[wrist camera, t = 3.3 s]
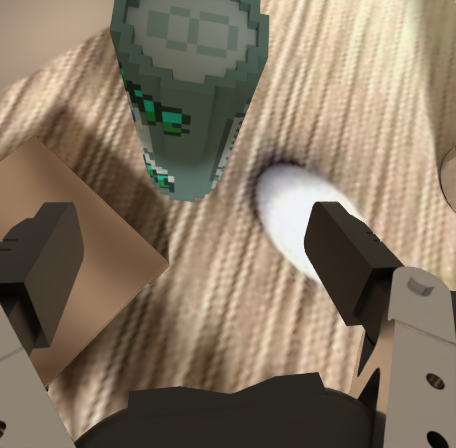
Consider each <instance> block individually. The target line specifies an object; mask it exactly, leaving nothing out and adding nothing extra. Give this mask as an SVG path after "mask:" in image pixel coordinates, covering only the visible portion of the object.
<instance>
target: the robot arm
mask: <svg viewBox="0 0 456 448" xmlns="http://www.w3.org/2000/svg"><path fill="white" fill-rule="evenodd" d="M441 184H442V188H443V192H444V194H445V196H446V199H447V201H448V202H449V204H450V205H451V207H452V209H453V210H454V211H455V212H456V147H454V148H453V149H452V150H450V151H449V153H448V154H447V155H446V157H445V159H444V161H443V163H442V168H441ZM2 240H3V241H2V242H0V448H456V291H450V290H449V288H448V287H447V286H446V284H445V283H444V282H443V281H441V280H440V279H439V278H437V277H436V276H434V275H433V274H431V273H429V272H427V271H424V270H422V269H419V268H415V267H405V266H404V265H403V264H402V263H401V262H400V261H399V260H398V258H397V257H396V256H395V255H394V254H393V253H392V252H391V251H390V250H389V249H388V248H387V247H386V246H385V245H384V243H383V242H380V239H379V238H378V237H377V236H376V235H375V234H373V232H372V231H371V230H370V228H369V227H368V226H367V225H366V224H365V223H364V222H362V221H360V220H359V219H357V218H356V217H354V216H352V215H350V214H349V213H348V212H347V211H346V210H345V208H344V207H343V206H342V205H341V204H340V203H339V202H315V203H314V205H313V207H312V211H311V214H310V218H309V222H308V226H307V229H306V233H305V237H304V249H305V253H306V255H307V257H308V258H309V260H310V262H311V264H312V266H313V267H314V269H315V271H316V273H317V274H318V276H319V278H320V280H321V282H322V283H323V285H324V287H325V289H326V290H327V292H328V294H329V296H330V298H331V299H332V301H333V303H334V305H335V306H336V308H337V310H338V312H339V314H340V315H341V317H342V319H343V321H344V322H345V324H346V326H354V325H362V326H363V327H364V329H365V330H364V332H363V334H362V336H361V340H360V345H359V350H358V355H357V360H356V365H355V369H354V374H353V379H352V384H351V388H350V391H349V394H345V393H343V392H340V391H337V390H334V389H330V388H326V387H324V385H323V382H322V380H321V378H320V375H319V373H318V372H315V373H305V374H295V375H285V376H276V377H273V378H271V379H268V380H266V381H263V382H261V383H258V384H256V385H253V386H251V387H248V388H246V389H243V390H241V391H238V392H236V393H232V394H225V393H219V392H212V391H206V390H200V389H193V388H187V387H181V386H178V387H168V388H158V389H149V390H139V391H130V392H129V401H128V408H126V409H123V410H121V411H118V412H116V413H114V414H112V415H110V416H108V417H107V418H105V419H103V420H102V421H100V422H99V423H97V424H96V425H94V426H93V427H92V428H90V429H89V430H88V431H87V432H85V433H84V434H83V435H82V436H81V437H80V438H79V439H78V440H76V441H75V442H74V443H73V441H72V439H71V437H70V435H69V433H68V432H67V430H66V428H65V426H64V424H63V422H62V420H61V418H60V416H59V414H58V412H57V410H56V408H55V407H54V405H53V403H52V401H51V399H50V397H49V395H48V393H47V391H46V389H45V387H44V385H43V384H42V382H41V380H40V378H39V376H38V374H37V372H36V370H35V368H34V366H33V364H32V362H31V361H30V359H29V357H30V355H31V352H32V350H33V349H39V348H50V346H51V344H52V341H53V338H54V336H55V333H56V330H57V328H58V325H59V322H60V320H61V317H62V314H63V312H64V309H65V306H66V304H67V301H68V298H69V296H70V293H71V290H72V288H73V285H74V283H75V280H76V277H77V275H78V272H79V269H80V267H81V264H82V261H83V257H84V242H83V238H82V233H81V229H80V224H79V220H78V215H77V211H76V207H75V205H74V203H73V202H45V203H44V204H43V205H42V206H41V208H40V209H39V211H38V212H37V213H36V215H35V216H34V218H26V219H24V220H23V221H21V222H20V223H18V224H17V225H15V226H13V227H12V228H11V229H10V230H9V232H8V233H7V234H6V235H5V237H4V238H3V239H2Z"/></svg>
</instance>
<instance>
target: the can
mask: <svg viewBox="0 0 456 448" xmlns="http://www.w3.org/2000/svg"><path fill="white" fill-rule="evenodd" d="M110 33H111V37H112V41H113V44H114V48H115V52H116V56H117V59H118V63H119V67H120V71H121V74H122V78H123V82H124V86H125V89H126V93H127V97H128V101H129V104H130V108H131V112H132V116H133V119H134V123H135V127H136V131H137V134H138V138H139V142H140V146H141V149H142V153H143V157H144V160H145V164H146V168H147V172H148V174H150V178H151V182H152V184H155V185H156V189H160V192H161V194H167V195H170V200H181V201H191V202H194V200H195V197H197V198H204V196H205V194H209V192H210V190H214V189H215V186H216V183H217V182H219V181H220V178H221V176H222V173H223V171H224V168H225V166H226V163H227V160H228V158H229V155H230V153H231V150H232V148H233V145H234V143H235V140H236V138H237V135H238V132H239V130H240V127H241V125H242V122H243V120H244V117H245V115H246V112H247V110H248V107H249V105H250V102H251V99H252V97H253V94H254V92H255V89H256V87H257V84H258V82H259V79H260V77H261V74H262V71H263V69H264V66H265V64H266V61H267V59H268V40H269V15H264V14H260V0H115V1H114V8H113V14H112V20H111V26H110Z"/></svg>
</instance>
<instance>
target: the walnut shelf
mask: <svg viewBox="0 0 456 448" xmlns="http://www.w3.org/2000/svg"><path fill="white" fill-rule="evenodd" d="M45 202H73V203H74V205H75V207H76V211H77V215H78V220H79V224H80V229H81V233H82V238H83V242H84V257H83V261H82V264H81V267H80V269H79V272H78V275H77V277H76V280H75V283H74V285H73V288H72V290H71V293H70V296H69V298H68V301H67V304H66V306H65V309H64V312H63V314H62V317H61V320H60V322H59V325H58V328H57V330H56V333H55V336H54V338H53V341H52V344H51V346H50V348H39V349H33V350H32V352H31V355H30V357H29V359H30V361H31V362H32V364H33V366H34V368H35V370H36V372H37V374H38V376H39V378H40V380H41V382H42V384H43V385H44V387H45V389H46V387H47V386H48V385H49V384H50V383H51V382H52V381H53V380H54V379H55V378H56V377H57V376H58V375H59V374H60V373H61V372H62V371H63V370H64V369H65V368H66V367H67V366H68V365H69V364H70V363H71V362H72V360H73V359H74V358H75V357H76V356H77V355H78V354H79V353H80V352H81V351H82V350H83V349H84V348H85V347H86V346H87V345H88V344H89V343H90V342H91V341H92V340H93V339H94V338H95V337H96V336H97V335H98V334H99V333H100V332H101V331H102V330H103V329H104V328H105V327H106V326H107V325H108V324H109V323H110V322H111V320H112V319H113V318H114V317H115V316H116V315H117V314H118V313H119V312H120V311H121V310H122V309H123V308H124V307H125V306H126V305H127V304H128V303H129V302H130V301H131V300H132V299H133V298H134V297H135V296H136V295H137V294H138V293H139V292H140V291H141V290H142V289H143V288H144V287H145V286H146V285H147V284H152V283H153V282H154V281H155V280H156V279H157V278H158V277H159V276H160V275H161V274H162V273H163V272H164V271H165V270H166V269H167V268H168V267H169V264H168V261H167V260H166V259H165V258H164V257H163V256H162V255H161V254H160V253H159V252H157V251H156V250H155V249H154V248H153V247H152V246H151V245H150V244H149V243H148V242H147V241H146V240H145V239H144V238H143V237H142V236H141V235H140V234H138V233H137V232H136V231H135V230H134V229H133V228H132V227H131V226H130V225H129V224H128V223H127V222H126V221H125V220H124V219H123V218H122V217H120V216H119V215H118V214H117V213H116V212H115V211H114V210H113V209H112V208H111V207H110V206H109V205H108V204H107V203H106V202H105V201H104V200H103V199H101V198H100V197H99V196H98V195H97V194H96V193H95V192H94V191H93V190H92V189H91V188H90V187H89V186H88V185H87V184H86V183H85V182H84V181H82V180H81V179H80V178H79V177H78V176H77V175H76V174H75V173H74V172H73V171H72V170H71V169H70V168H69V167H68V166H67V165H66V164H65V163H63V162H62V161H61V160H60V159H59V158H58V157H57V156H56V155H55V154H54V153H53V152H52V151H51V150H50V149H49V148H48V147H47V146H46V145H44V144H43V143H42V142H41V141H40V140H39V139H38V138H37V137H36V136H33V137H32V138H31V139H30V140H28V141H27V142H26V143H24V144H23V145H22V146H20V147H19V148H18V149H16V150H15V151H14V152H12V153H11V154H10V155H8V156H7V157H6V158H5V159H3V160H2V161H1V162H0V242H2V241H3V240H2V239H3V238H4V237H5V235H6V234H7V233H8V232H9V230H10V229H11V228H12V227H13V226H15V225H17V224H18V223H20V222H21V221H23V220H24V219H26V218H34V216H35V215H36V213H37V212H38V211H39V209H40V208H41V206H42V205H43V204H44V203H45ZM46 391H47V392H48V390H47V389H46Z"/></svg>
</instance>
